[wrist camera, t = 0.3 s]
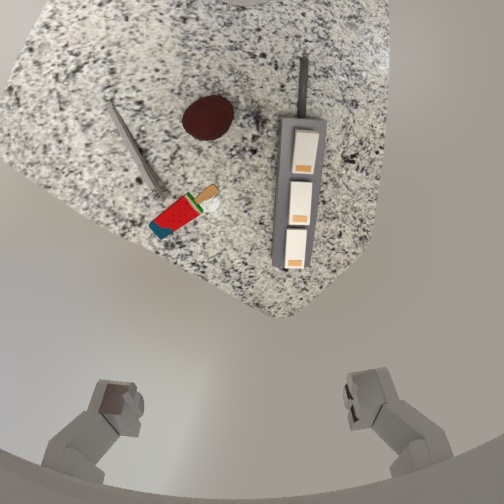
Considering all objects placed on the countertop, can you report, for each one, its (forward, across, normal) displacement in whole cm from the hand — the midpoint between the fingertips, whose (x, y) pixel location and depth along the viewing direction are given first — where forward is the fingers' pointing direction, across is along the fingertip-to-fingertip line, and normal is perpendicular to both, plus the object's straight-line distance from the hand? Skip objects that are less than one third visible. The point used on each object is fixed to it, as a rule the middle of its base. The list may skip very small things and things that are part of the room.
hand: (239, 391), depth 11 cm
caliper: (+46, +19, -2) cm, 50 cm away
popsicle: (+47, +12, +11) cm, 50 cm away
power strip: (+46, -9, +4) cm, 47 cm away
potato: (+46, +5, -5) cm, 47 cm away
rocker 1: (+40, -9, +1) cm, 41 cm away
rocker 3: (+40, -8, +18) cm, 45 cm away
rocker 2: (+40, -8, +9) cm, 42 cm away
